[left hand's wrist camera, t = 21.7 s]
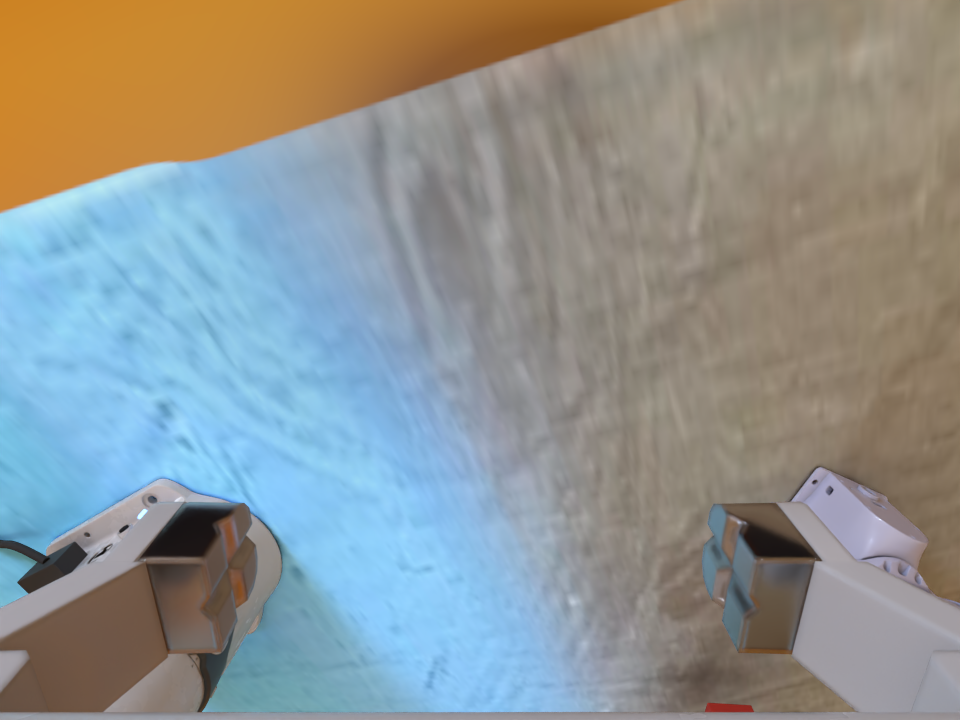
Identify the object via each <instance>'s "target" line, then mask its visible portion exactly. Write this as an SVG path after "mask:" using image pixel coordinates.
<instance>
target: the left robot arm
mask: <svg viewBox="0 0 960 720" xmlns="http://www.w3.org/2000/svg"><path fill="white" fill-rule="evenodd" d="M152 496H154V497H155V498H156V499H154V498H153V497H152ZM708 525H709V527H710V529H711V531H712V532H713V534H714V535H713V536H712V537H711V538H710V540H709V541H708V542H707V543H706V544H705V545H704V550H703V558H702V566H703V577H704V581H705V584H706V588H707V590H708V592H709V595H710V597H711V599H712V601H714V602H715V603H717V604H718V605H719V606H721V607H722V608H724V613H723V619H722V621H723V623H724V625H725V627H726V629H727V631H728V633H729V635H730V637H731V639H732V641H733V643H734V645H735V647H736V649H737V651H738V653H770V654H792V656H791V657H792V658H794V659H795V660H796V661H797V662H798V663H800V664H801V665H802V666H803V667H804V668H806V669H807V670H808V671H809V672H810V673H811V674H813V675H814V676H815V677H816V678H817V679H819V680H820V681H821V682H822V683H823V684H825V685H826V686H827V687H828V688H829V689H830V690H832V691H833V692H834V693H835V694H836V695H838V696H839V697H840V698H841V699H842V700H843V701H845V702H846V703H847V704H848V705H849V706H851V707H852V708H853V709H854V710H855V711H857V712H202V711H203V709H204V708H205V706H206V705H207V703H208V701H209V699H210V698H211V697H212V696H213V694H214V692H215V690H216V688H217V686H216V685H217V683H218V681H219V679H220V677H221V676H222V674H223V673H224V671H225V670H226V668H227V666H228V665H229V663H230V662H231V660H232V658H233V657H234V655H235V653H236V652H237V650H238V648H239V647H240V645H241V643H242V642H243V640H244V638H245V637H246V635H247V634H250V633H253V632H254V631H255V630H256V629H257V627H258V625H259V624H260V622H261V619H262V614H263V606H264V604H265V602H266V601H267V600H268V598H269V597H270V596H271V594H272V593H273V592H274V590H275V589H276V587H277V585H278V583H279V580H280V577H281V572H282V559H281V554H280V550H279V547H278V545H277V543H276V541H275V539H274V537H273V536H272V534H271V533H270V531H269V530H268V529H267V528H266V526H265V525H264V524H263V523H262V522H261V521H260V520H259V519H257V518H256V517H255V516H254V515H252V514H251V513H250V510H249V507H248V506H247V505H246V504H245V503H231V502H228V501H225V500H222V499H219V498H215V497H210V496H205V495H201V494H197V493H194V492H192V491H190V490H189V489H187V488H185V487H183V486H182V485H180V484H178V483H176V482H174V481H172V480H169V479H158V480H156V481H154V482H153V483H151V484H149V485H147V486H146V487H144V488H142V489H140V490H139V491H137V492H135V493H134V494H132V495H130V496H128V497H127V498H125V499H123V500H121V501H120V502H118V503H116V504H115V505H113V506H111V507H109V508H108V509H106V510H104V511H102V512H101V513H99V514H97V515H96V516H94V517H92V518H90V519H89V520H87V521H85V522H84V523H82V524H80V525H78V526H77V527H75V528H73V529H71V530H70V531H68V532H66V533H65V534H63V535H61V536H59V537H58V538H56V539H55V540H54V541H52V542H51V544H50V545H49V546H48V547H47V550H46V556H45V555H43V554H41V553H39V552H37V551H35V550H34V549H32V548H30V547H28V546H25V545H23V544H21V543H18V542H15V541H5V540H0V548H8V549H12V550H15V551H17V552H19V553H22V554H24V555H26V556H28V557H29V558H31V559H33V560H35V561H37V563H36V564H35V565H34V566H33V567H32V568H31V569H30V570H29V571H28V572H27V573H26V574H25V575H24V576H23V577H22V578H21V579H20V580H19V581H18V582H17V583H18V584H19V585H20V586H21V587H22V588H23V589H24V590H25V591H26V592H28V593H29V594H28V595H26V596H24V597H22V598H20V599H18V600H16V601H14V602H12V603H10V604H8V605H6V606H4V607H2V608H0V720H960V608H958V607H956V606H954V605H952V604H950V603H948V602H946V601H944V600H942V599H940V598H938V597H936V596H934V595H932V594H930V593H928V592H926V591H924V590H922V589H920V588H918V587H916V586H914V585H912V584H910V583H908V582H906V581H904V580H902V579H900V578H898V577H896V576H894V575H892V574H890V573H888V572H886V571H884V570H882V569H880V568H878V567H877V566H875V565H873V564H871V563H869V562H857V561H856V559H855V558H854V557H853V556H852V555H851V554H850V553H849V551H848V550H847V549H846V548H845V547H844V546H843V545H842V544H841V542H840V541H839V540H838V539H837V538H836V537H835V536H834V534H833V533H832V532H831V531H830V530H829V529H828V528H827V527H826V525H825V524H824V523H823V522H822V521H821V520H820V519H819V517H818V516H817V515H816V514H815V513H814V512H813V511H812V510H811V508H810V507H809V506H808V505H807V504H805V503H802V502H800V501H796V502H771V503H734V504H713V506H712V508H711V510H710V513H709V519H708Z"/></svg>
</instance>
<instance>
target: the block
mask: <svg viewBox="0 0 960 720" xmlns="http://www.w3.org/2000/svg"><path fill="white" fill-rule="evenodd" d="M705 712H754V711H753V709H752V706H751V705H735V704H719V703H708V704H707V707H706V710H705Z"/></svg>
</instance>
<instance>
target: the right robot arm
mask: <svg viewBox="0 0 960 720" xmlns="http://www.w3.org/2000/svg"><path fill="white" fill-rule="evenodd" d="M814 480H815V482H813V481H814ZM812 482H813V483H812ZM796 501H800V502H802V503H805V504H807V505H808V506H809V507H810V508H811V510H812V511H813V512H814V513H815V514H816V515H817V516H818V517H819V519H820V520H821V521H822V522H823V523H824V524H825V525H826V527H827V528H828V529H829V530H830V531H831V532H832V533H833V534H834V536H835V537H836V538H837V539H838V540H839V541H840V542H841V544H842V545H843V546H844V547H845V548H846V549H847V550H848V551H849V553H850V554H851V555H852V556H853V557H854V558H855V559H856V561H857V562H869V563H871V564H873V565H875V566H877V567H878V568H880V569H882V570H884V571H886V572H888V573H890V574H892V575H894V576H896V577H898V578H900V579H902V580H904V581H906V582H908V583H910V584H912V585H914V586H916V587H918V588H920V589H922V590H924V591H926V592H928V593H930V594H932V595H934V596H936V595H935V594H934V593H933V592H932V591H931V590H930V589H929V588H928V586H927V585H926V583H925V581H924V580H923V578H922V577H921V576H920V574H919V573H918V565H919V561H920V558H921V556H922V554H923V551H924V550H925V548H926V546H927V545H928V543H929V541H928V539H927V537H926V536H925V535H924V534H923V533H922V532H921V531H920V530H919V529H918V528H917V527H916V526H915V525H914V524H913V523H911V522H910V521H909V520H908V519H907V518H906V517H905V516H904V515H903V514H902V513H900V512H899V511H898V510H897V509H896V508H895V507H894V506H893V505H892V504H891V503H889V502H888V498H887V497H886V496H885V495H883V494H881V493H878V492H876V491H874V490H872V489H869V488H867V487H865V486H863V485H861V484H858V483H856V482H854V481H852V480H849V479H847V478H845V477H843V476H840V475H838V474H836V473H834V472H832V471H829V470H827V469H825V468H822V467H819V468H817V469H816V470H815V471H814V472H813V473H812V475H811V476H810V477H809V479H808V480H807V481H806V482H805V484H804V485H803V486H802V488H801V489H800V490H799V492H798V493H797V494H796V495H795V497H794V498H793V499H792V501H791V502H796ZM936 597H938V596H936ZM938 598H940V597H938ZM940 599H942V600H944V601H946V602H948V603H950V604H952V605H954V606H956V607H958V608H960V603H958V602H955V601H952V600H948V599H943V598H940Z"/></svg>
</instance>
